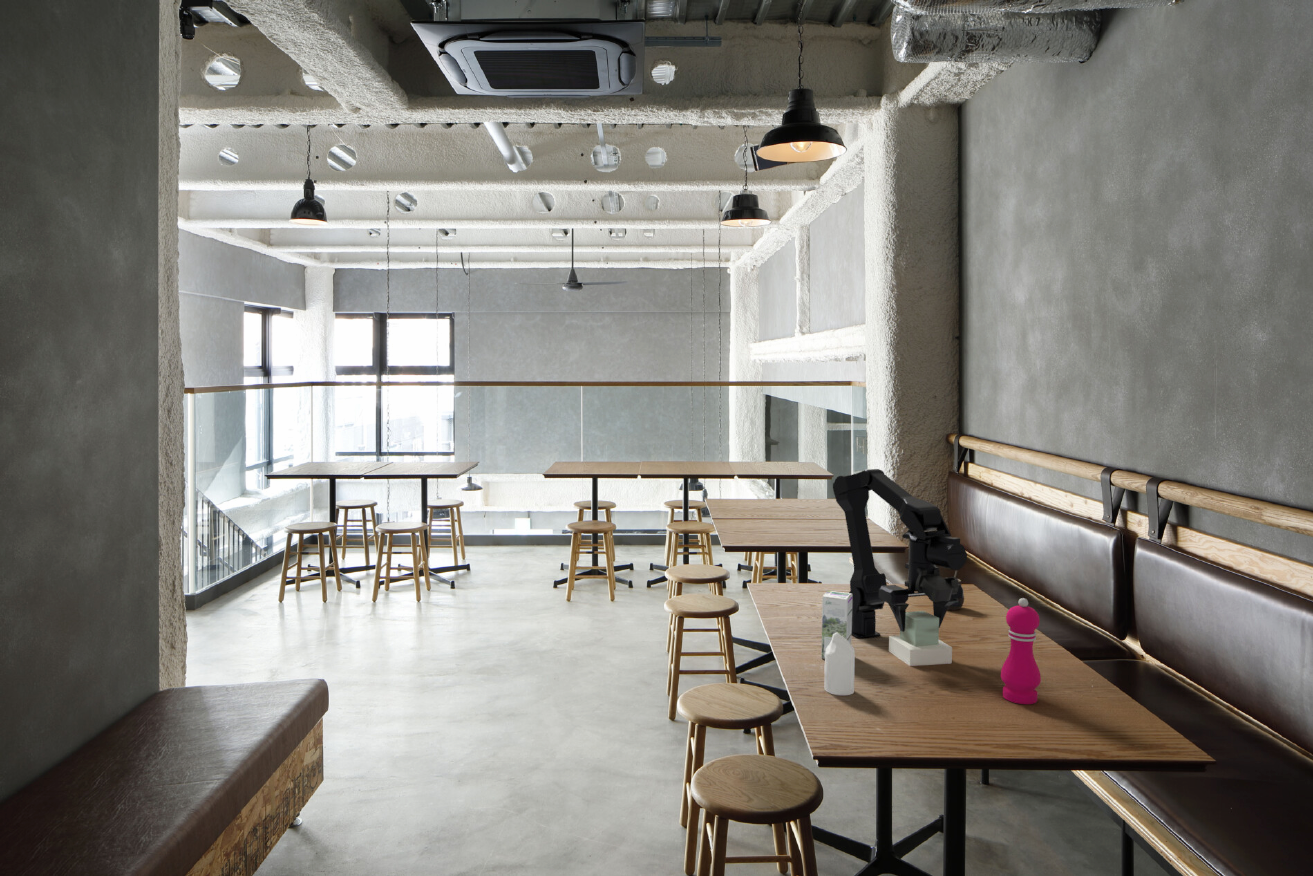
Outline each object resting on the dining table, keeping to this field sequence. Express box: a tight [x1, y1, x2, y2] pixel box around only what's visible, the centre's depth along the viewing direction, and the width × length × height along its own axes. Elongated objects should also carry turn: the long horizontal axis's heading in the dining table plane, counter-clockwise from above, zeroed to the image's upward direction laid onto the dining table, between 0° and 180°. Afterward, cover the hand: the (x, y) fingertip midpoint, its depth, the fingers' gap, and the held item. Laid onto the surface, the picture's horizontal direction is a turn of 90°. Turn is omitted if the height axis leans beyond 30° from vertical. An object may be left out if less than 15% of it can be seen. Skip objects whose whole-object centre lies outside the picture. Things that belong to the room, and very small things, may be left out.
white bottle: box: [823, 633, 856, 696], centre depth 167 cm, size 6×12×6 cm
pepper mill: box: [1000, 597, 1042, 705], centre depth 163 cm, size 7×7×20 cm
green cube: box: [899, 610, 940, 647], centre depth 188 cm, size 6×6×6 cm
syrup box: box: [820, 590, 852, 660], centre depth 187 cm, size 6×6×14 cm
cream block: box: [888, 634, 953, 667], centre depth 188 cm, size 10×10×4 cm
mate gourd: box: [947, 570, 965, 611], centre depth 229 cm, size 7×8×10 cm
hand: (920, 629), depth 188 cm, fingers open, 9 cm apart
